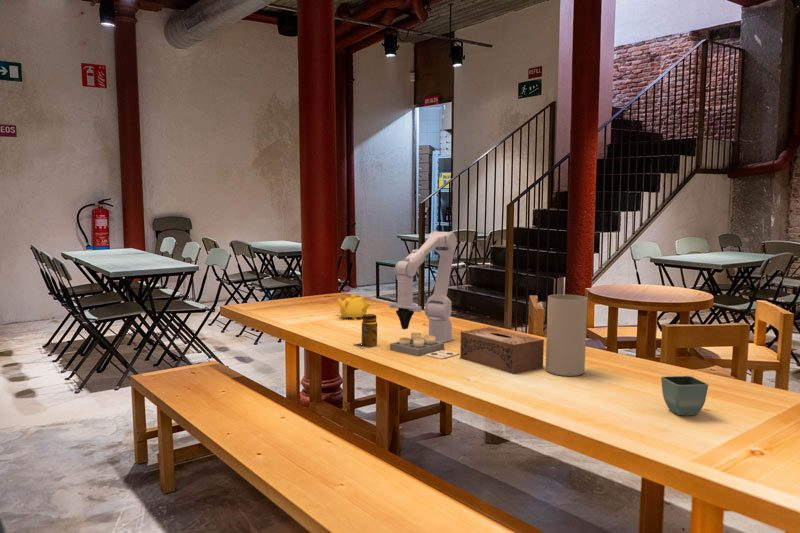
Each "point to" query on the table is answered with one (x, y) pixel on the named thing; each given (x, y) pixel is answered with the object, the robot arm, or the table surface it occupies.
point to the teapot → (353, 307)
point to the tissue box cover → (502, 350)
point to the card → (442, 354)
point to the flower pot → (684, 394)
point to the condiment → (369, 331)
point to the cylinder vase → (566, 335)
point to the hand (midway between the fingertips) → (404, 328)
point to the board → (416, 351)
